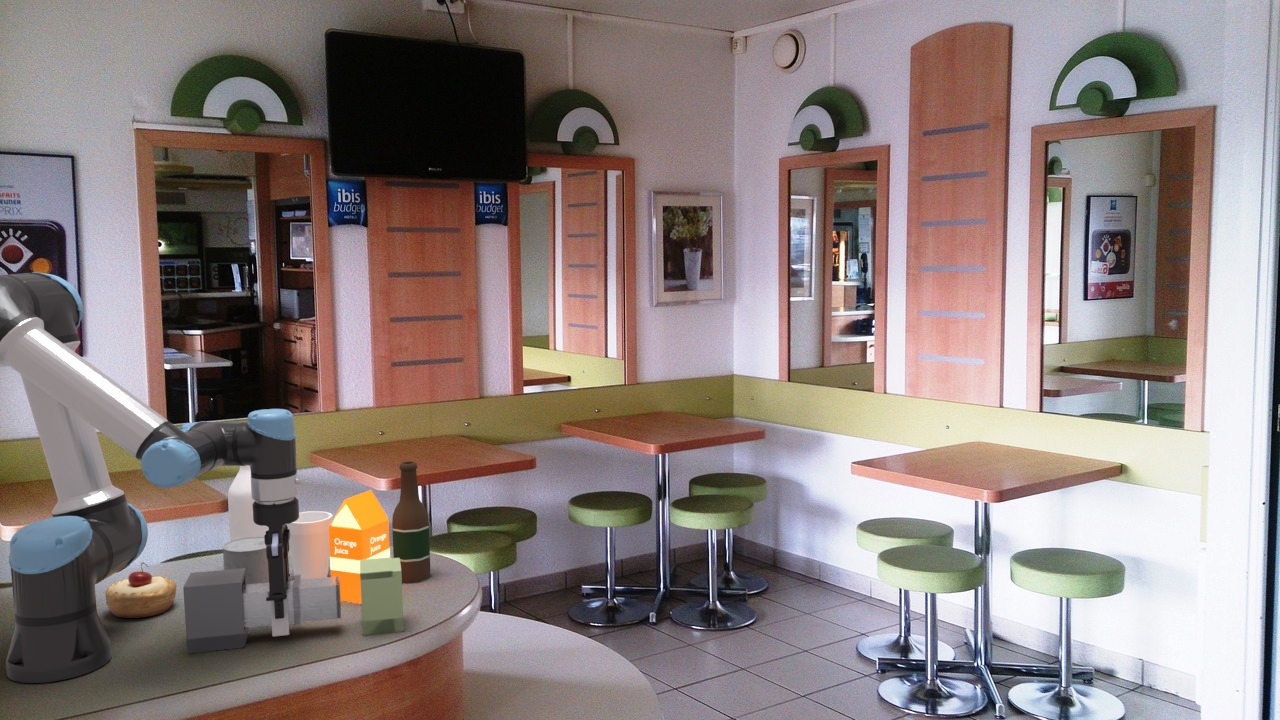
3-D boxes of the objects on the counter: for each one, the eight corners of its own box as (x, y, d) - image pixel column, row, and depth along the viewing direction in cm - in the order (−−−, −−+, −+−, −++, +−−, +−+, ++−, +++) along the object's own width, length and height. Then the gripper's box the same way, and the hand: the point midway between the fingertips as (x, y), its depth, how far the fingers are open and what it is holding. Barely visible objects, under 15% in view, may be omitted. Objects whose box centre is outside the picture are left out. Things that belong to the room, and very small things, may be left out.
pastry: (98, 625, 190) (95, 577, 189) (116, 603, 201) (113, 558, 200) (169, 619, 192) (166, 572, 191) (183, 598, 204) (180, 553, 203)
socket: (362, 635, 183) (360, 573, 182) (362, 619, 191) (359, 559, 189) (403, 631, 185) (401, 569, 183) (401, 615, 192) (399, 556, 191)
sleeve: (187, 653, 176) (183, 587, 174) (194, 636, 183) (190, 572, 182) (244, 647, 178) (240, 582, 177) (249, 631, 186) (245, 568, 184)
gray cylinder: (262, 617, 192) (258, 552, 191) (215, 614, 194) (211, 550, 193) (289, 599, 202) (286, 537, 200) (244, 597, 204) (241, 535, 202)
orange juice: (331, 599, 201) (326, 498, 199) (359, 585, 210) (355, 488, 207) (365, 604, 199) (360, 501, 196) (392, 590, 207) (388, 491, 204)
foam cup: (326, 586, 209) (323, 523, 208) (280, 586, 209) (277, 523, 208) (340, 571, 219) (338, 510, 217) (296, 571, 219) (293, 511, 217)
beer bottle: (401, 570, 219) (396, 458, 216) (436, 572, 218) (433, 458, 215) (387, 582, 211) (382, 466, 208) (424, 584, 210) (420, 467, 207)
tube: (186, 635, 176) (183, 597, 175) (192, 621, 182) (190, 584, 182) (340, 620, 182) (338, 583, 181) (341, 606, 189) (339, 571, 188)
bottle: (226, 579, 215) (217, 435, 211) (240, 566, 223) (232, 427, 219) (265, 578, 215) (257, 434, 211) (278, 566, 223) (271, 427, 219)
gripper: (295, 510, 173) (301, 645, 175) (300, 485, 190) (306, 609, 193) (246, 513, 171) (254, 650, 174) (257, 488, 188) (263, 613, 191)
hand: (282, 628), depth 183 cm, fingers closed on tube, 5 cm apart
